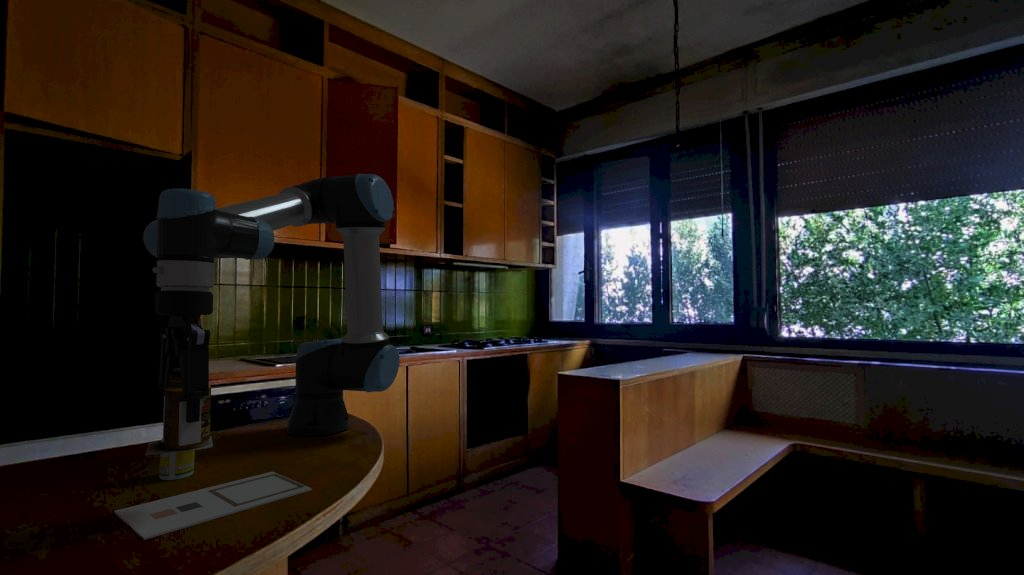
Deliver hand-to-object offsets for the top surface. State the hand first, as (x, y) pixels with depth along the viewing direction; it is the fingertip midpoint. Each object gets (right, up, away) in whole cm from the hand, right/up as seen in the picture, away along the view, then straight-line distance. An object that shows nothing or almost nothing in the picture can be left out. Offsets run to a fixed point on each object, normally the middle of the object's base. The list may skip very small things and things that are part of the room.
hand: (181, 439), depth 76 cm
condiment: (0, -1, 0) cm, 1 cm away
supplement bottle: (-11, -12, +16) cm, 23 cm away
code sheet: (+4, -11, +4) cm, 12 cm away
